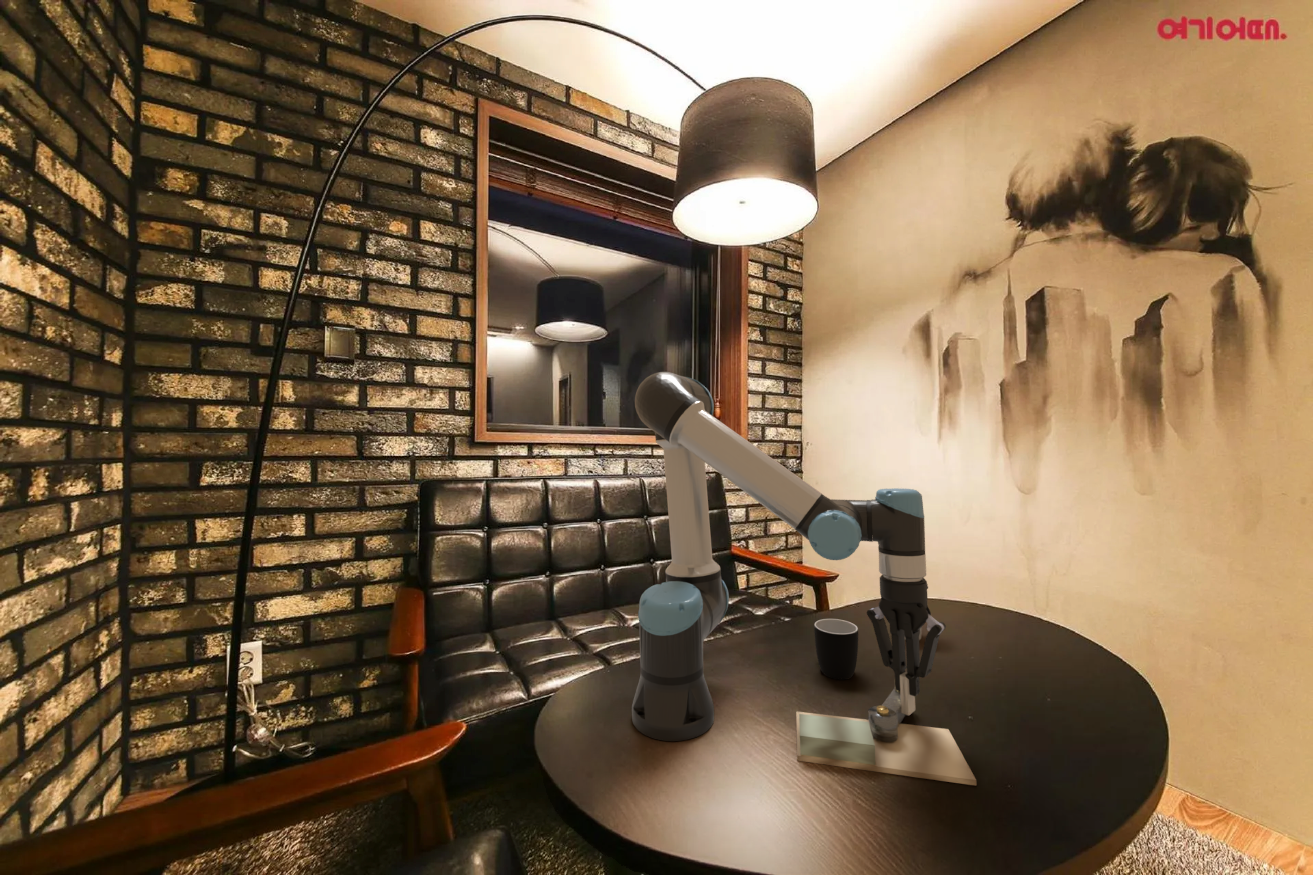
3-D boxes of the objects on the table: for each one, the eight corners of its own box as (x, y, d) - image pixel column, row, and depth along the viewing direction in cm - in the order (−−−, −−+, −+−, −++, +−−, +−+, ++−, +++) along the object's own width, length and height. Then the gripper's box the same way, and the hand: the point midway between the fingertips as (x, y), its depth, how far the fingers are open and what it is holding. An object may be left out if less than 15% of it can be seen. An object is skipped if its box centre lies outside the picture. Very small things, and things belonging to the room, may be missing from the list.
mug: (868, 679, 103) (867, 631, 104) (830, 685, 101) (829, 636, 101) (834, 655, 115) (833, 612, 115) (800, 660, 113) (799, 616, 113)
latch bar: (893, 745, 79) (892, 716, 79) (865, 735, 82) (864, 707, 82) (917, 706, 91) (916, 681, 91) (891, 698, 94) (891, 674, 94)
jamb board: (797, 760, 78) (796, 736, 78) (796, 715, 91) (795, 694, 91) (976, 785, 71) (975, 759, 71) (948, 733, 84) (947, 711, 84)
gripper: (950, 578, 85) (956, 717, 84) (877, 566, 95) (882, 691, 94) (932, 587, 80) (939, 734, 79) (857, 573, 90) (862, 705, 89)
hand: (908, 711), depth 87 cm, fingers closed
